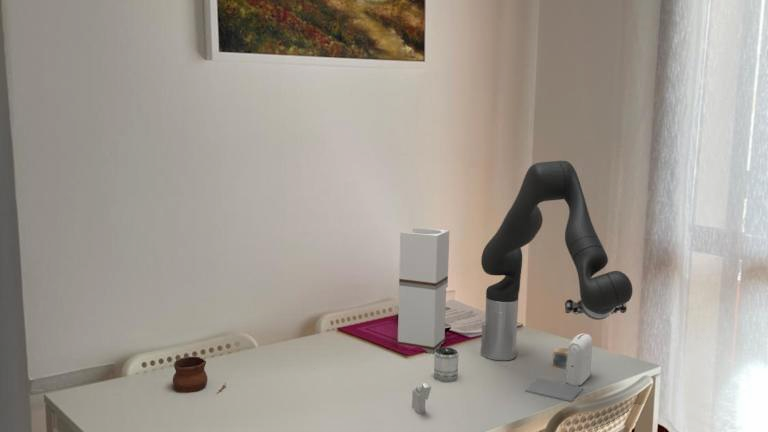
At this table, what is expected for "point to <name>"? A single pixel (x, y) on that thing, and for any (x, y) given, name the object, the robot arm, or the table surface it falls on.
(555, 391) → the felt pad
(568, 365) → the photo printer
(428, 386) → the lighter
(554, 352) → the wooden block
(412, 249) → the tall white banded vase
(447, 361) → the camera lens
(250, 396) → the table surface
